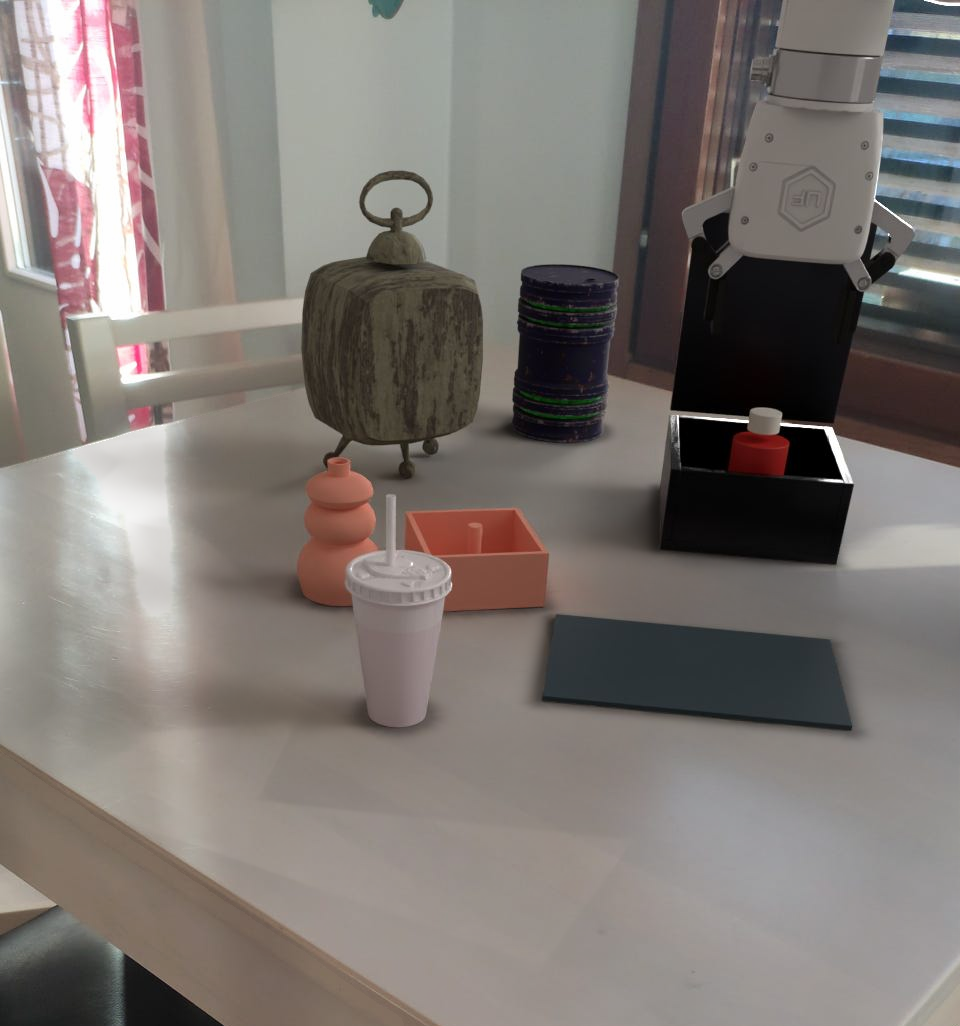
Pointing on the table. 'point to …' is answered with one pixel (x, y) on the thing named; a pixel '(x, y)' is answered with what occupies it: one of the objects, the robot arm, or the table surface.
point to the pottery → (421, 546)
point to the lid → (763, 337)
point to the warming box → (753, 494)
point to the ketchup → (760, 444)
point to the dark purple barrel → (563, 351)
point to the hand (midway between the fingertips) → (776, 336)
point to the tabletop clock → (392, 341)
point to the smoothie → (397, 625)
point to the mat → (695, 672)
